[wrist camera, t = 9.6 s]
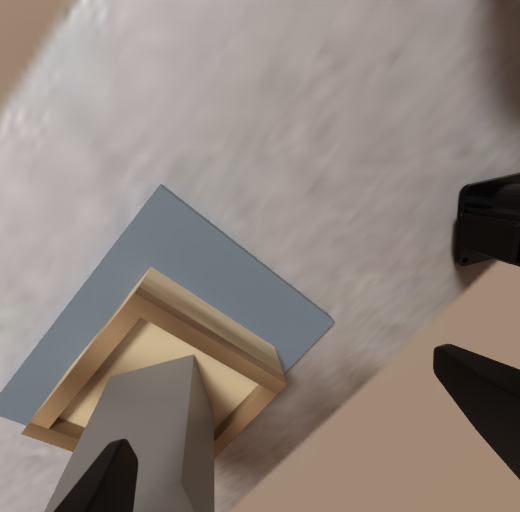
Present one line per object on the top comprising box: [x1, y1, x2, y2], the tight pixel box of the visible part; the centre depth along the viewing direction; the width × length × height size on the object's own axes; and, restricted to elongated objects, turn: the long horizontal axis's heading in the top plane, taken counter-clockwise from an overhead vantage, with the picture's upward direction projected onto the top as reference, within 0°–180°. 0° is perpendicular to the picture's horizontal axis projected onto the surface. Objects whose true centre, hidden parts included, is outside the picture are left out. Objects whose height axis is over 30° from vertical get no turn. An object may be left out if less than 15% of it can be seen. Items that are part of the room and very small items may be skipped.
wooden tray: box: [21, 267, 287, 459], centre depth 18 cm, size 11×11×4 cm
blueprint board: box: [0, 185, 335, 425], centre depth 20 cm, size 20×16×1 cm
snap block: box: [44, 354, 214, 512], centre depth 13 cm, size 5×5×8 cm
